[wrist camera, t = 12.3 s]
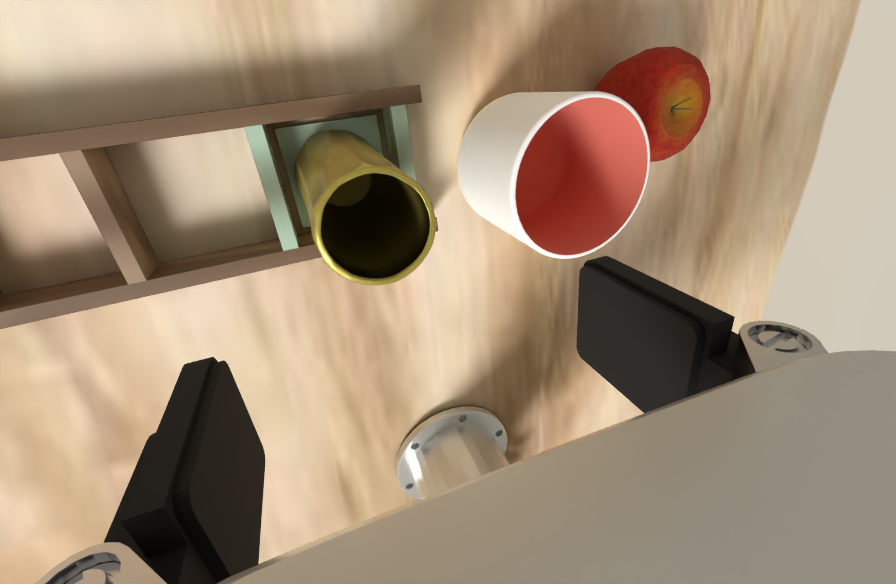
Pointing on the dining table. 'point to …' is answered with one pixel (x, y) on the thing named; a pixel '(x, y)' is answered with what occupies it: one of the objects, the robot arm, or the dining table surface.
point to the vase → (363, 209)
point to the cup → (556, 168)
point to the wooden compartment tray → (150, 277)
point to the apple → (663, 96)
